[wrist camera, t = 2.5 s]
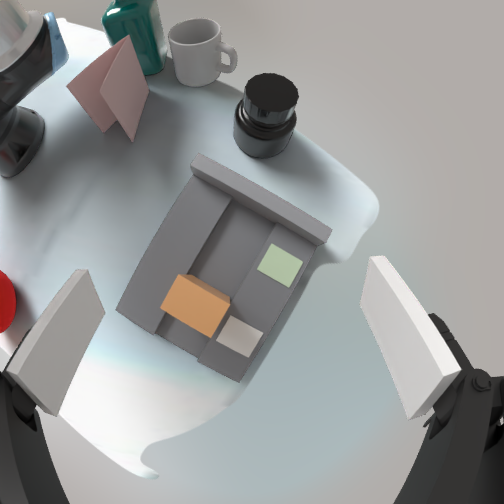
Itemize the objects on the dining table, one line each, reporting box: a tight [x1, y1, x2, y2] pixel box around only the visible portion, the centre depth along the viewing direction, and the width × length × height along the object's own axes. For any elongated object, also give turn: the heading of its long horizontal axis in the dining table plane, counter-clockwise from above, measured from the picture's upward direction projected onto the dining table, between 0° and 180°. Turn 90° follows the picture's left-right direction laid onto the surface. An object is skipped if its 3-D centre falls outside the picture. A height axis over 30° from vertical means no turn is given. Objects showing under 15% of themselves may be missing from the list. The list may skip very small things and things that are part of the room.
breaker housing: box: [116, 153, 332, 382], centre depth 35 cm, size 24×20×6 cm
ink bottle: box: [233, 73, 299, 158], centre depth 35 cm, size 10×9×12 cm
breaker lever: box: [160, 274, 230, 338], centre depth 31 cm, size 4×6×10 cm, turn 60°
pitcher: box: [101, 0, 167, 75], centre depth 30 cm, size 10×8×22 cm
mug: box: [168, 18, 237, 87], centre depth 36 cm, size 12×8×11 cm
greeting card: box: [66, 35, 150, 142], centre depth 32 cm, size 11×7×15 cm, turn 140°
